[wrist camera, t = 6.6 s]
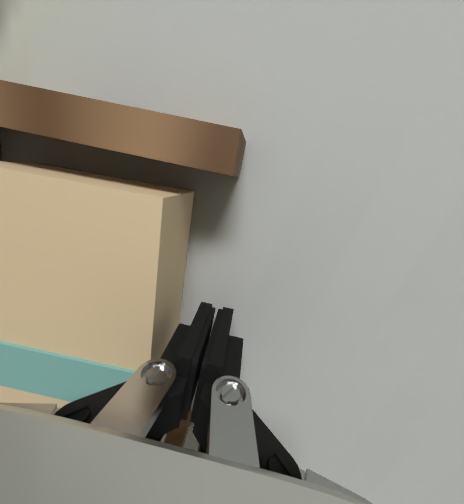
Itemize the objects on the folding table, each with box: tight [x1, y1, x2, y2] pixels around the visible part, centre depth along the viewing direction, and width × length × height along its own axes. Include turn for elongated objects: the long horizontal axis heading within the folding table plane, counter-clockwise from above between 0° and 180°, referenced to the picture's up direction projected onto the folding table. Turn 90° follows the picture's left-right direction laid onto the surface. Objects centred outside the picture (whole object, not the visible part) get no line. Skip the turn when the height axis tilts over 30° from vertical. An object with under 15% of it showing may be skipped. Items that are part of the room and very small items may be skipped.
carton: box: [0, 161, 194, 408], centre depth 12 cm, size 8×12×5 cm
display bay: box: [0, 80, 246, 448], centre depth 12 cm, size 14×18×3 cm
